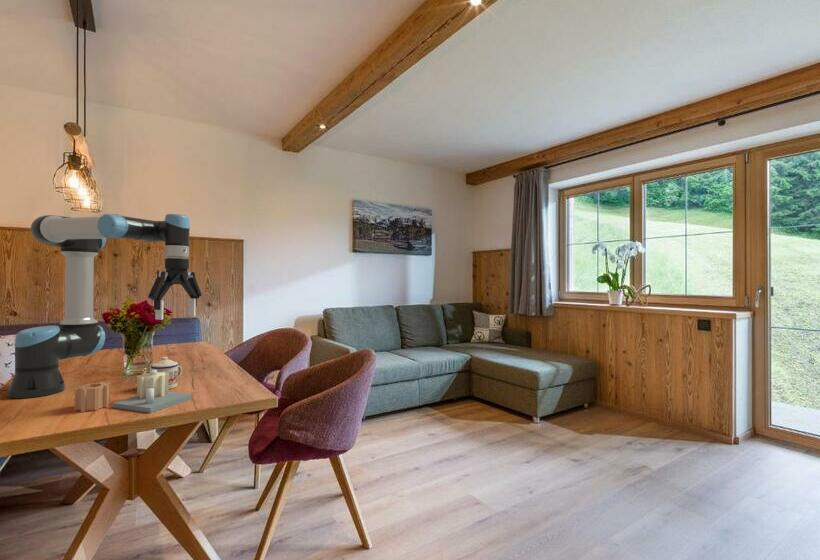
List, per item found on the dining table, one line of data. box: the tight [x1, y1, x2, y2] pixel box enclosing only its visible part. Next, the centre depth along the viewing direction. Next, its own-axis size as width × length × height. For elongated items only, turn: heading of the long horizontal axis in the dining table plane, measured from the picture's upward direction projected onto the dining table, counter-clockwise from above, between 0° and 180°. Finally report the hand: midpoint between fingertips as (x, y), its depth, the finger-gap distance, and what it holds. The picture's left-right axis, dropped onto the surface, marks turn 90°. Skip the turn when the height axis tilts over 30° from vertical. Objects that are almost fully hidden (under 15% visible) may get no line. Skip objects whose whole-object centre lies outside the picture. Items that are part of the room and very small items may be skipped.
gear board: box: [112, 369, 193, 414], centre depth 135 cm, size 16×16×10 cm
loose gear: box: [73, 381, 111, 413], centre depth 130 cm, size 9×9×7 cm
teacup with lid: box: [150, 356, 183, 390], centre depth 155 cm, size 12×9×12 cm
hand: (176, 317), depth 143 cm, fingers open, 13 cm apart
